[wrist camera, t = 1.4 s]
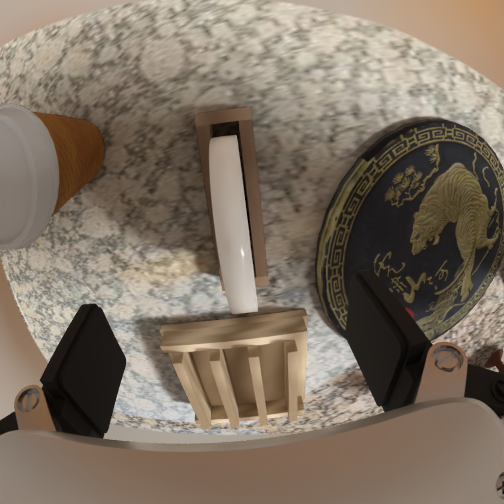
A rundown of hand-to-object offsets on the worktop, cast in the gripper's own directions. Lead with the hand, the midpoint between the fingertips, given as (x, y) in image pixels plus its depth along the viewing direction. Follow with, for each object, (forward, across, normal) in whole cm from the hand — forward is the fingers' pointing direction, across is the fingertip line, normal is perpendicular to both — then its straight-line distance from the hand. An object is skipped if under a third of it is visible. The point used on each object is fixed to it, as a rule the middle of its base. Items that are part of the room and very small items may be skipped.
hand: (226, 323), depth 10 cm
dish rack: (+16, +1, +21) cm, 27 cm away
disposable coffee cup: (+17, +13, -7) cm, 23 cm away
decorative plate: (+17, -23, +8) cm, 29 cm away
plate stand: (+17, -1, 0) cm, 17 cm away
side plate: (+11, -1, 0) cm, 11 cm away
